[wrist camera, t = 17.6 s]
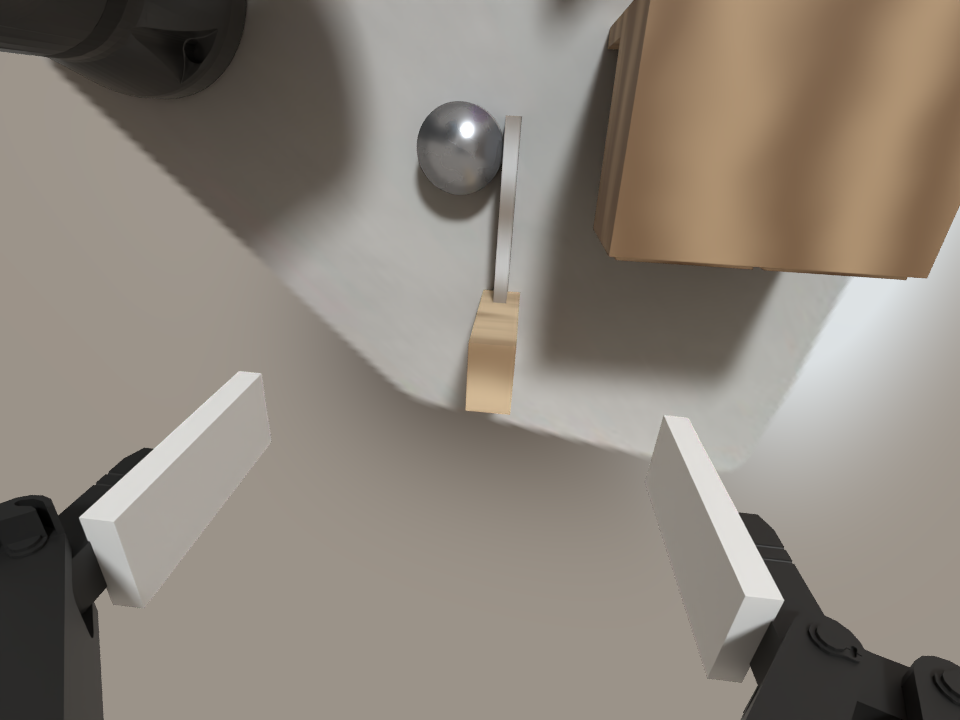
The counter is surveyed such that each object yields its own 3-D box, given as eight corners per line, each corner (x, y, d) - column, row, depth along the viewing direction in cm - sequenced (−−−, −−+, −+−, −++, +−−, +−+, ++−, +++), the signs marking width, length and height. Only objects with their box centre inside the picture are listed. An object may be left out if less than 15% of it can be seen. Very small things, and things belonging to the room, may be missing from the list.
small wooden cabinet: (584, 218, 38) (608, 262, 27) (610, 27, 33) (653, -24, 21) (801, 232, 37) (924, 284, 26) (863, 37, 32) (1056, -10, 20)
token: (421, 185, 38) (414, 189, 36) (426, 97, 36) (419, 95, 34) (498, 195, 38) (496, 200, 36) (509, 108, 36) (507, 107, 33)
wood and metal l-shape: (514, 347, 43) (509, 414, 34) (480, 344, 44) (465, 410, 34) (535, 117, 36) (537, 116, 26) (493, 115, 36) (479, 113, 26)
